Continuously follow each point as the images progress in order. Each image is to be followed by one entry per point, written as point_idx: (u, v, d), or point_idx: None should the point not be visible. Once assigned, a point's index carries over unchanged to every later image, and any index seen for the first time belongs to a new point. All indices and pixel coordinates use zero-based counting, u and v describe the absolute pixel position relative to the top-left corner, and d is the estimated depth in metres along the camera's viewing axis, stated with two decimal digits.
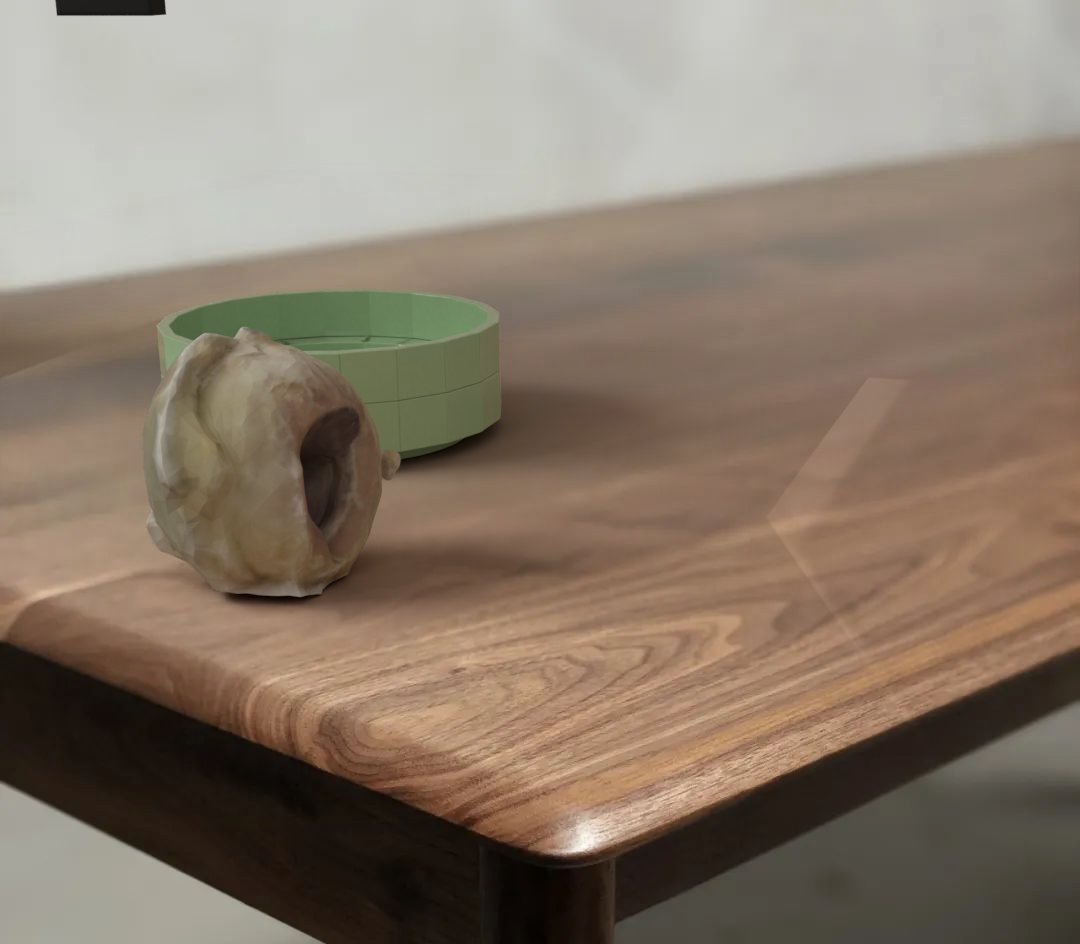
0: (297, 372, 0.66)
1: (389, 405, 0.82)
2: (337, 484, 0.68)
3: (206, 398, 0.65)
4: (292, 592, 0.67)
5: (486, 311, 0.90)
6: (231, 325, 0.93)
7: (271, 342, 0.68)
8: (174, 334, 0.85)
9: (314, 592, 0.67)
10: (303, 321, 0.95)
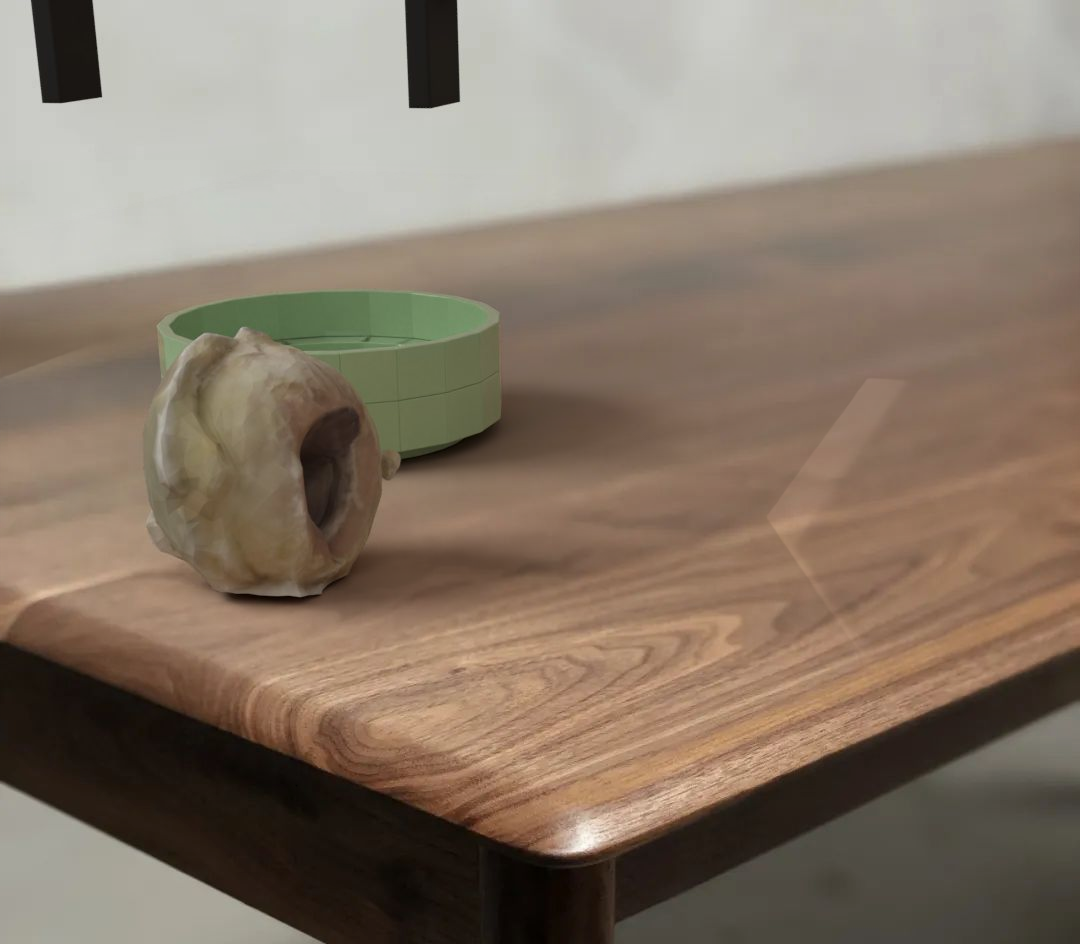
0: (297, 372, 0.66)
1: (389, 405, 0.82)
2: (337, 484, 0.68)
3: (206, 398, 0.65)
4: (292, 592, 0.67)
5: (486, 311, 0.90)
6: (231, 325, 0.93)
7: (271, 342, 0.68)
8: (174, 334, 0.85)
9: (314, 592, 0.67)
10: (303, 321, 0.95)
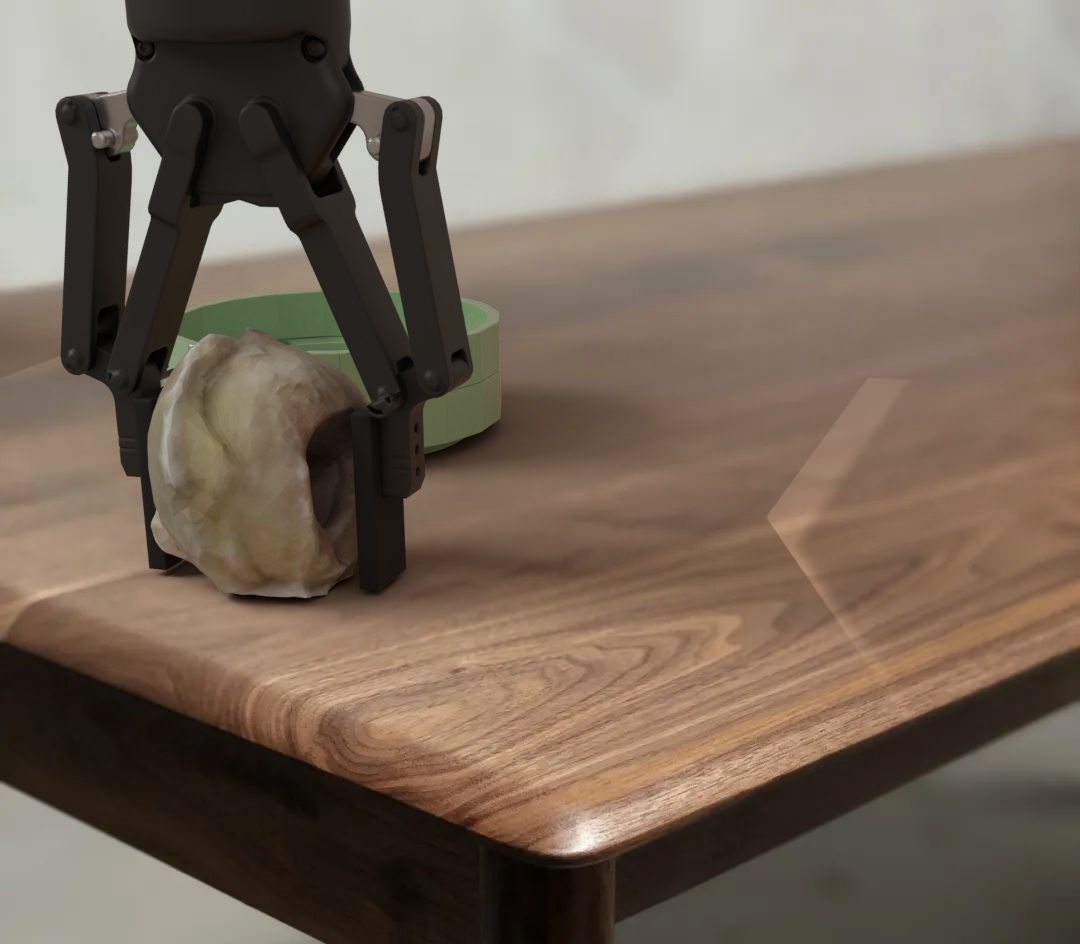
0: (302, 373, 0.66)
1: None
2: (343, 485, 0.68)
3: (212, 399, 0.65)
4: (298, 593, 0.67)
5: (486, 311, 0.90)
6: (231, 325, 0.93)
7: (276, 343, 0.67)
8: None
9: (320, 593, 0.67)
10: (303, 321, 0.95)
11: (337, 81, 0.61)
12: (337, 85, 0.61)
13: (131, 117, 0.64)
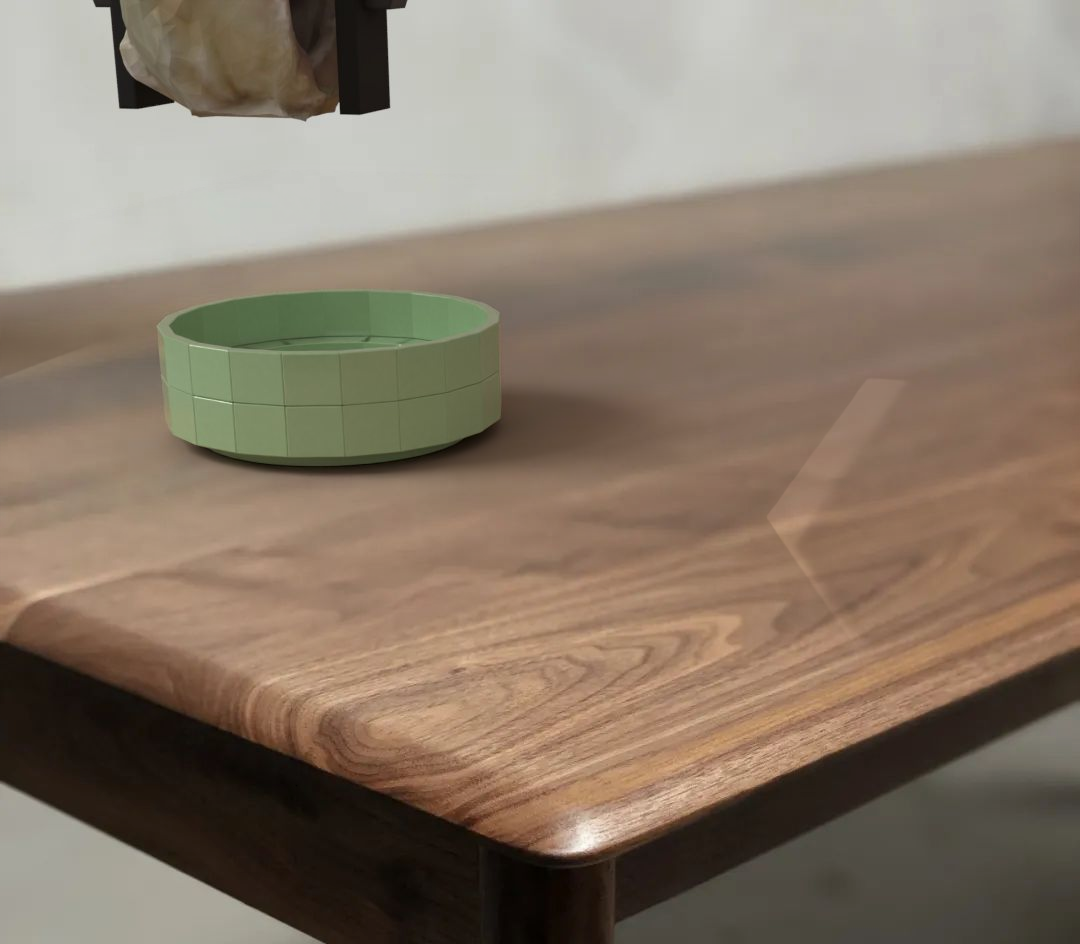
0: None
1: (389, 405, 0.82)
2: (323, 10, 0.65)
3: None
4: (274, 111, 0.63)
5: (486, 311, 0.90)
6: (231, 325, 0.93)
7: None
8: (174, 334, 0.85)
9: (298, 118, 0.64)
10: (303, 321, 0.95)
11: None
12: None
13: None
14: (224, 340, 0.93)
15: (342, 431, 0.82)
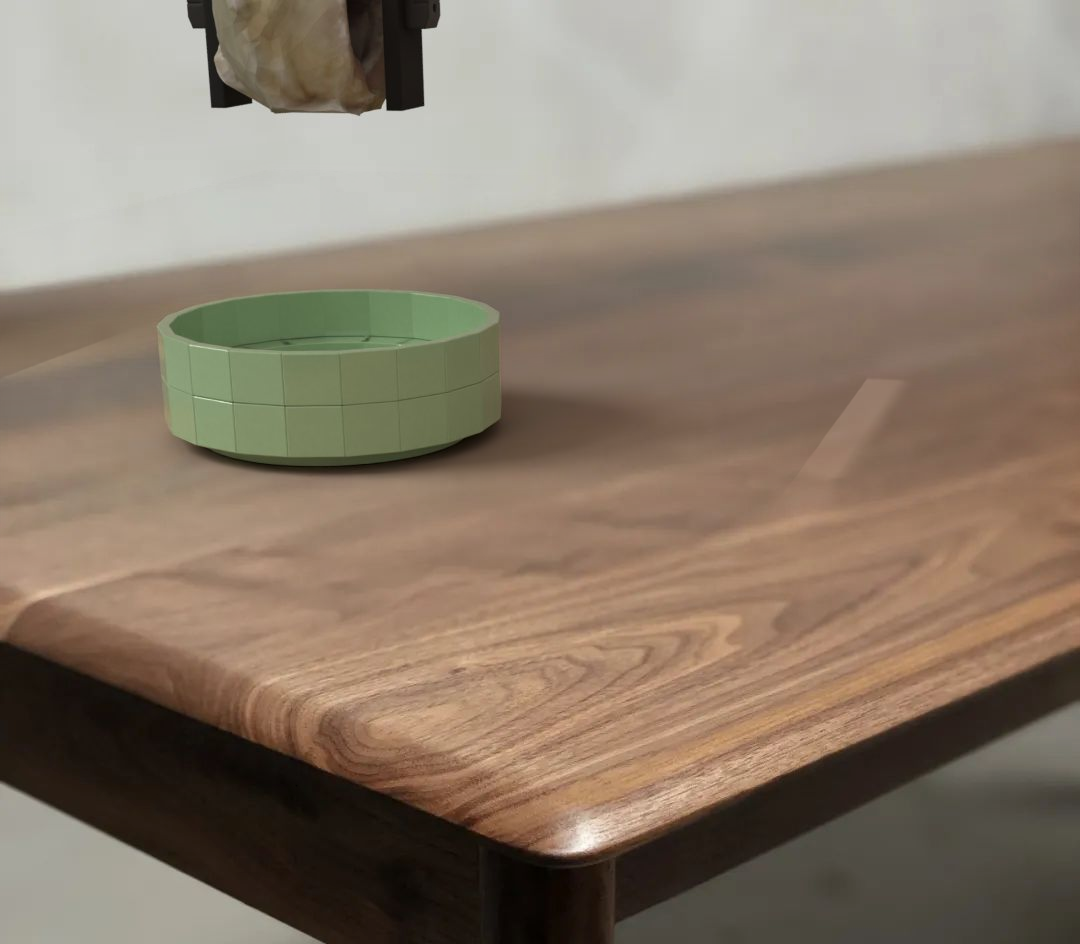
0: None
1: (389, 405, 0.82)
2: (372, 29, 0.83)
3: None
4: (336, 108, 0.81)
5: (486, 311, 0.90)
6: (231, 325, 0.93)
7: None
8: (174, 334, 0.85)
9: (354, 113, 0.82)
10: (303, 321, 0.95)
11: None
12: None
13: None
14: (224, 340, 0.93)
15: (342, 431, 0.82)
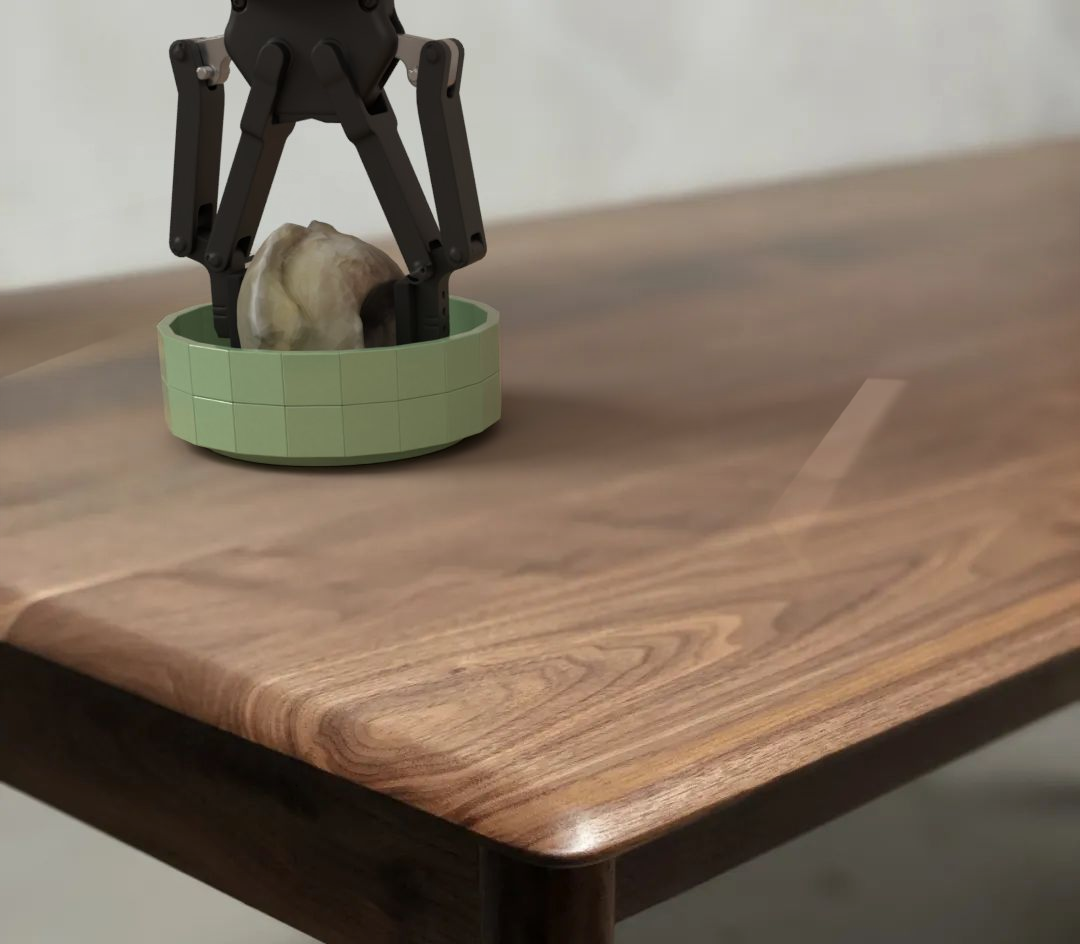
0: (357, 252, 0.86)
1: (389, 405, 0.82)
2: (386, 342, 0.89)
3: (288, 271, 0.85)
4: None
5: (486, 311, 0.90)
6: None
7: (336, 231, 0.88)
8: (174, 334, 0.85)
9: None
10: None
11: (385, 26, 0.81)
12: (385, 29, 0.81)
13: (226, 55, 0.84)
14: (224, 340, 0.93)
15: (342, 431, 0.82)
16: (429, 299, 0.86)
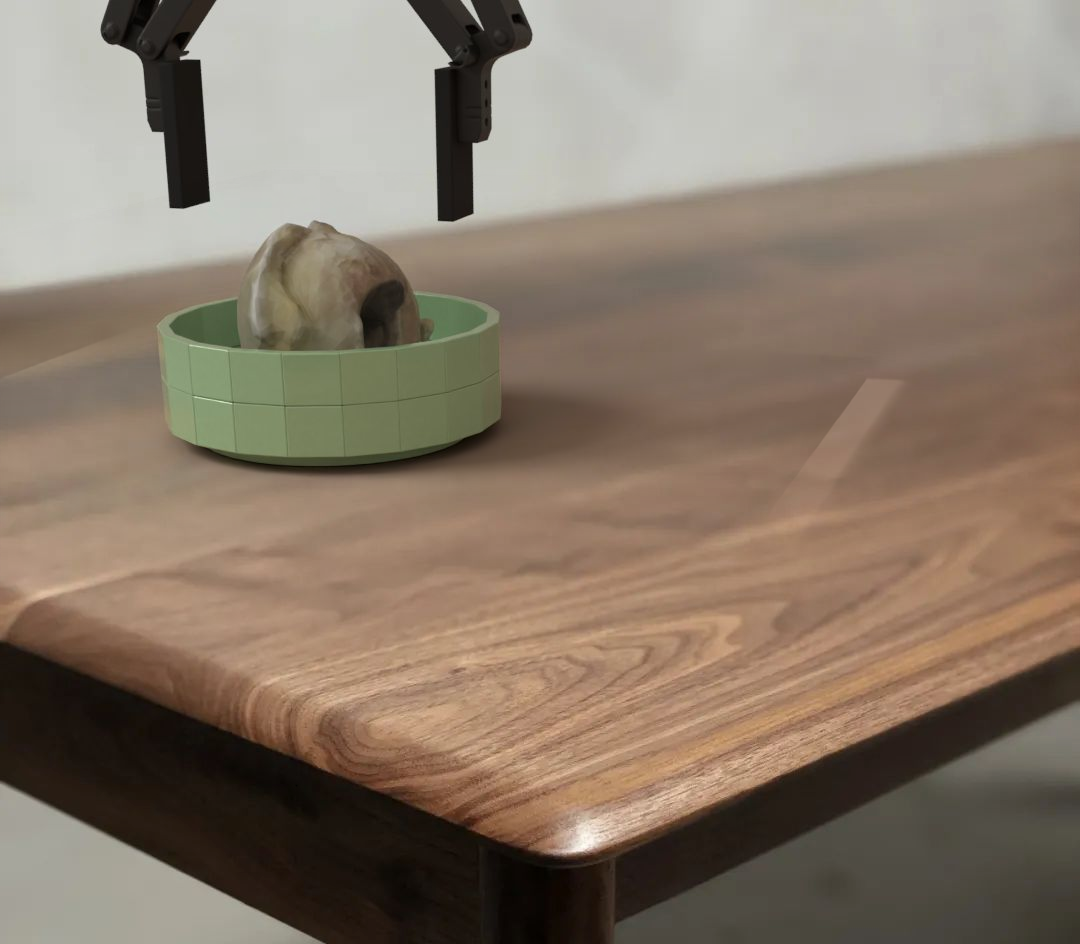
0: (357, 252, 0.86)
1: (389, 405, 0.82)
2: (386, 342, 0.89)
3: (288, 271, 0.85)
4: None
5: (486, 311, 0.90)
6: (231, 325, 0.93)
7: (336, 231, 0.88)
8: (174, 334, 0.85)
9: None
10: None
11: None
12: None
13: None
14: (224, 340, 0.93)
15: (342, 431, 0.82)
16: (471, 88, 0.81)
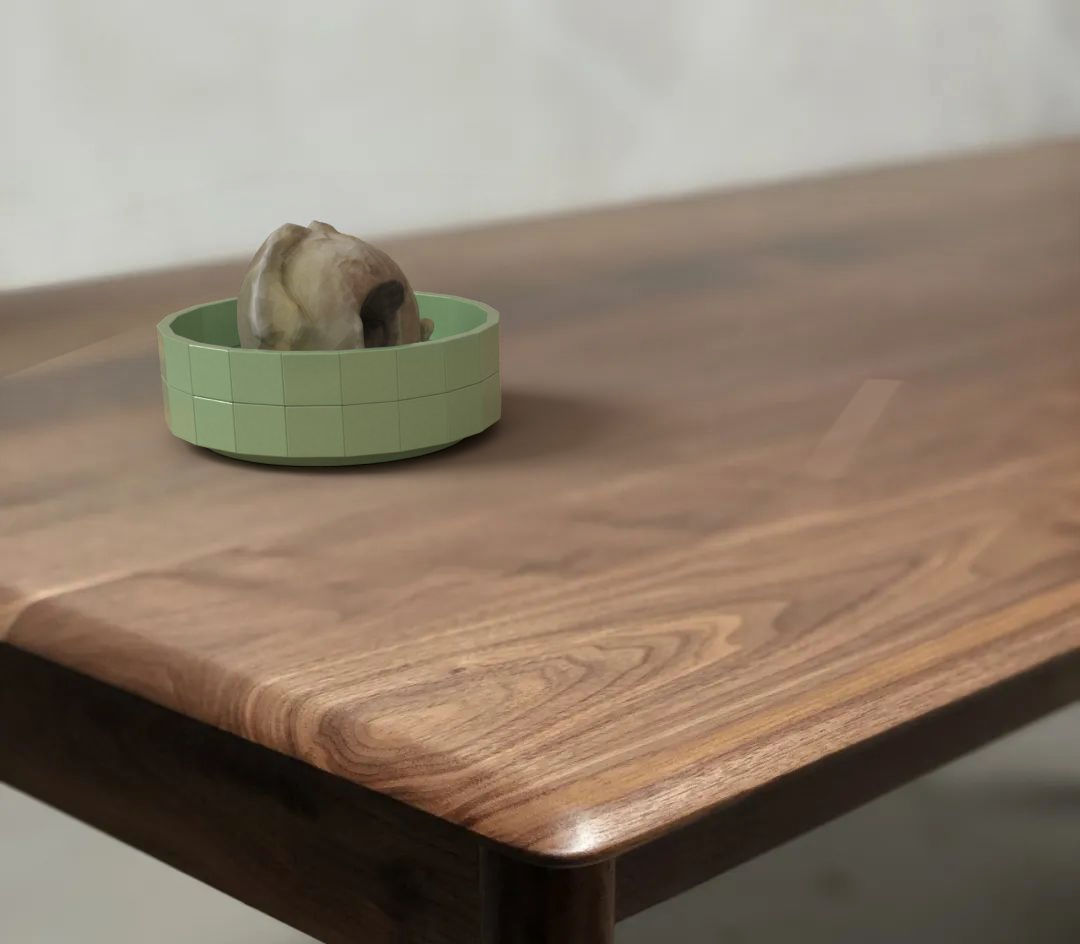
0: (357, 252, 0.86)
1: (389, 405, 0.82)
2: (386, 342, 0.89)
3: (288, 271, 0.85)
4: None
5: (486, 311, 0.90)
6: (231, 325, 0.93)
7: (336, 231, 0.88)
8: (174, 334, 0.85)
9: None
10: None
11: None
12: None
13: None
14: (224, 340, 0.93)
15: (342, 431, 0.82)
16: None
